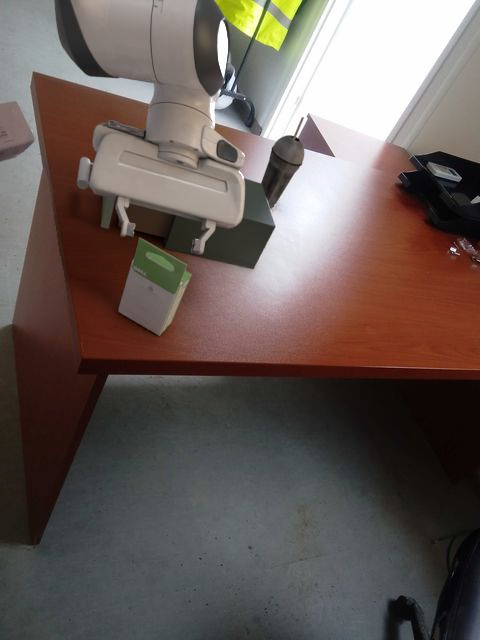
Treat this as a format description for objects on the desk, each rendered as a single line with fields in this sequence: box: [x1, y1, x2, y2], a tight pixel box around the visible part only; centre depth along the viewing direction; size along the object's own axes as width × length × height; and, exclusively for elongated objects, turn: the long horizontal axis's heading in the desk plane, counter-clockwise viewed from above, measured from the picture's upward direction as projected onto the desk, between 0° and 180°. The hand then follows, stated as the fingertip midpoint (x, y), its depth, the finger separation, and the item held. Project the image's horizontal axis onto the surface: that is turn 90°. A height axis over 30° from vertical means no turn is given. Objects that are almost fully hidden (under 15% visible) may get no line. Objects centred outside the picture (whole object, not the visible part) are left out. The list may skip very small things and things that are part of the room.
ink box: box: [117, 237, 192, 337], centre depth 61 cm, size 7×4×13 cm, turn 71°
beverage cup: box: [260, 116, 306, 209], centre depth 97 cm, size 7×7×20 cm
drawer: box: [76, 156, 175, 238], centre depth 77 cm, size 20×13×8 cm, turn 103°
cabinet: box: [163, 177, 276, 270], centre depth 82 cm, size 17×14×10 cm
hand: (162, 245), depth 61 cm, fingers open, 8 cm apart
